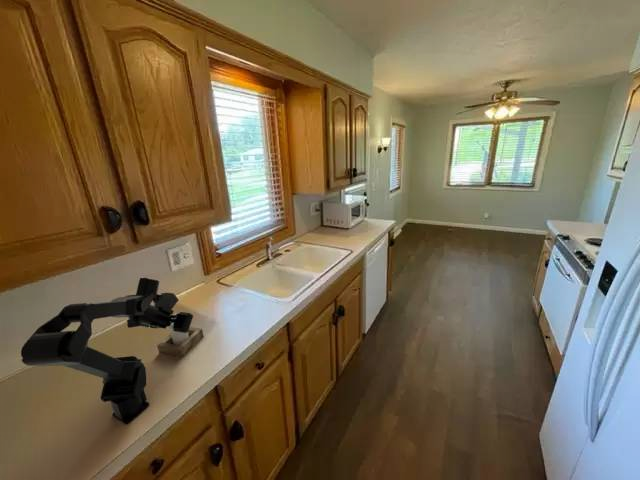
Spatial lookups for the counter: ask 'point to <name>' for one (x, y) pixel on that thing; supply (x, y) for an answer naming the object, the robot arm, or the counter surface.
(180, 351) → the socket block
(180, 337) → the eye dropper bottle
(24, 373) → the counter surface
